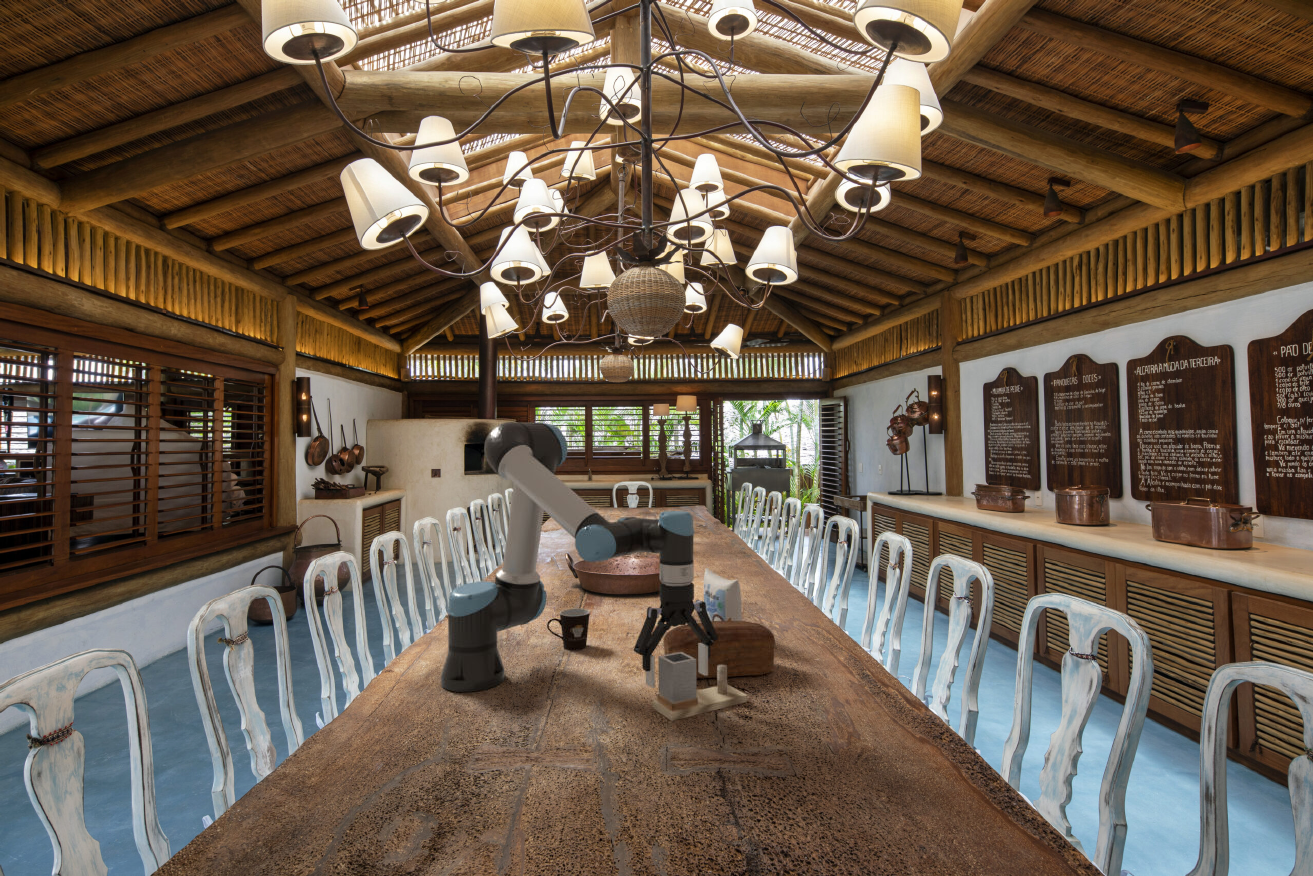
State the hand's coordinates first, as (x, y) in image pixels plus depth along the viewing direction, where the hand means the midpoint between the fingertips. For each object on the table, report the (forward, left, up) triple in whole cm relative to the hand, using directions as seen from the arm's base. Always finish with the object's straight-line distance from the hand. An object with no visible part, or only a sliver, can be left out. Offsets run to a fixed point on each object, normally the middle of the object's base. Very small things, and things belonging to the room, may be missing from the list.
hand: (677, 679), depth 143 cm
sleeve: (0, 0, -5) cm, 5 cm away
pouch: (+38, +36, -7) cm, 53 cm away
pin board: (+6, 0, -7) cm, 9 cm away
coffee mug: (-3, +54, -7) cm, 55 cm away
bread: (+22, +15, -7) cm, 28 cm away
